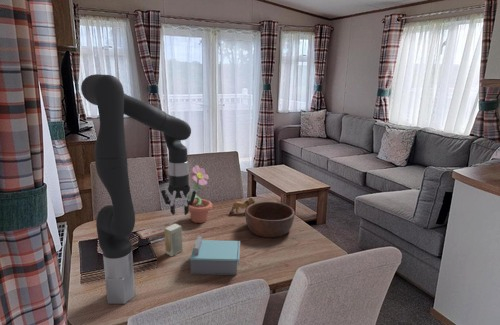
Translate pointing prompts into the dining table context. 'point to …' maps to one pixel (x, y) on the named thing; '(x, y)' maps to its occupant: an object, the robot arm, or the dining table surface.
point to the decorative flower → (199, 205)
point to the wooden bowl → (269, 218)
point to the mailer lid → (215, 250)
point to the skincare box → (173, 239)
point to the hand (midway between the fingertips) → (179, 213)
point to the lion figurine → (242, 204)
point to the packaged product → (153, 233)
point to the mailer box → (214, 267)
